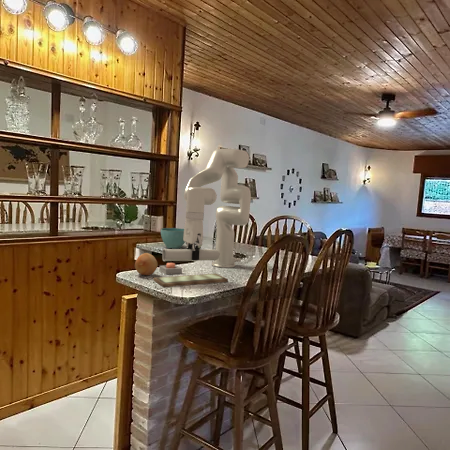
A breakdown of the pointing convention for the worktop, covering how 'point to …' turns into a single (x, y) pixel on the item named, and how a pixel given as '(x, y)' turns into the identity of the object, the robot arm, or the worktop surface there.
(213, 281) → the board
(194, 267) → the worktop surface
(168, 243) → the plant pot
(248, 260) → the worktop surface
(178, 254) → the tube
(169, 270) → the button housing
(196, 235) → the robot arm
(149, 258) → the onion
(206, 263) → the worktop surface
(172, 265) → the button
